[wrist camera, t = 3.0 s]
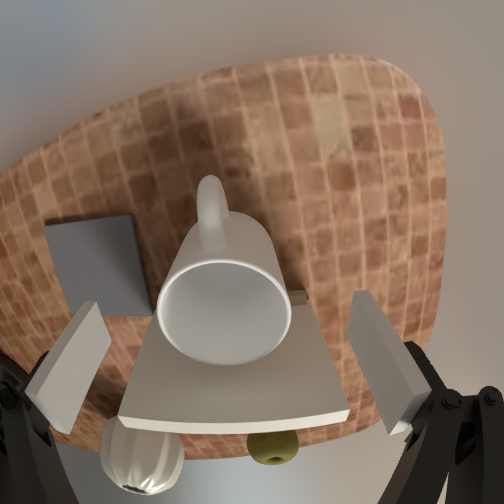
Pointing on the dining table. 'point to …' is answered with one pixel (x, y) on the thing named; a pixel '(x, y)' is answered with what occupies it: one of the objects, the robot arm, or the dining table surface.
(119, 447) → the vase
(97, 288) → the pad
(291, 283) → the dining table surface
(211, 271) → the mug
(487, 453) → the robot arm
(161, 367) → the screen
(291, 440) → the apple
